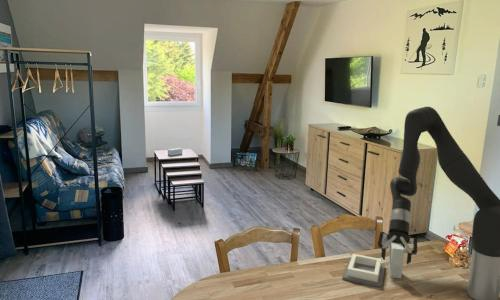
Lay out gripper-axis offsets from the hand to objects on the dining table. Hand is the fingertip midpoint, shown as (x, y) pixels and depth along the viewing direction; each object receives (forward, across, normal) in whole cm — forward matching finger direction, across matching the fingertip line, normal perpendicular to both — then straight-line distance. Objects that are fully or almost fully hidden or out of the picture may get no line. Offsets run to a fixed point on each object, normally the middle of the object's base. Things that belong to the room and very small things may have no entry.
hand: (395, 261), depth 146 cm
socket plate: (+6, -11, +3) cm, 13 cm away
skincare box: (+3, 0, +6) cm, 7 cm away
